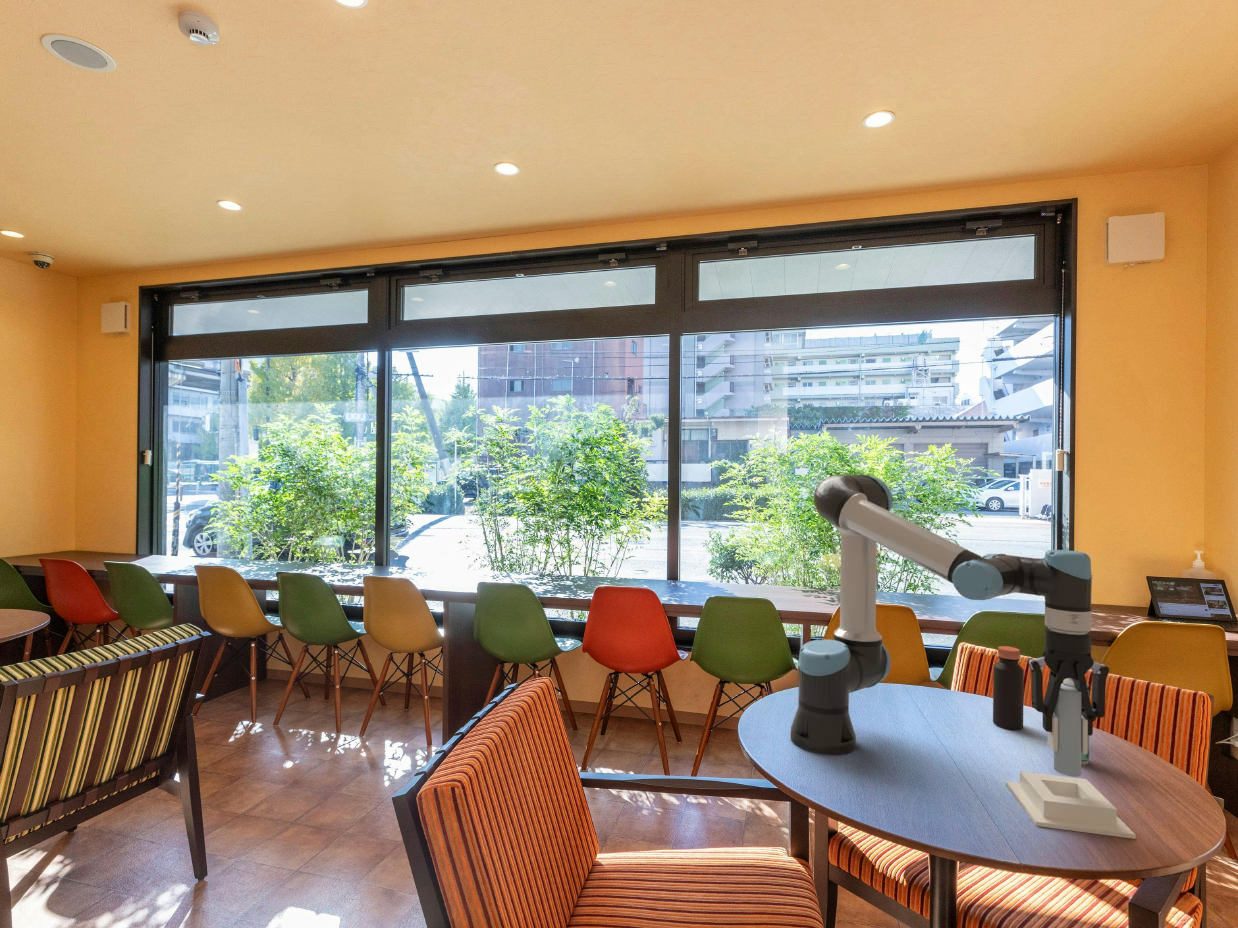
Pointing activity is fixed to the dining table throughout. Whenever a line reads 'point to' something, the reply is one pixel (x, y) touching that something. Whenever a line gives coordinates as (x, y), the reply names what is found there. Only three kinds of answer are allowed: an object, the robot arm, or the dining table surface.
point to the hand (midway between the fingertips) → (1067, 749)
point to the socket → (1067, 804)
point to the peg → (1068, 731)
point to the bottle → (1008, 689)
